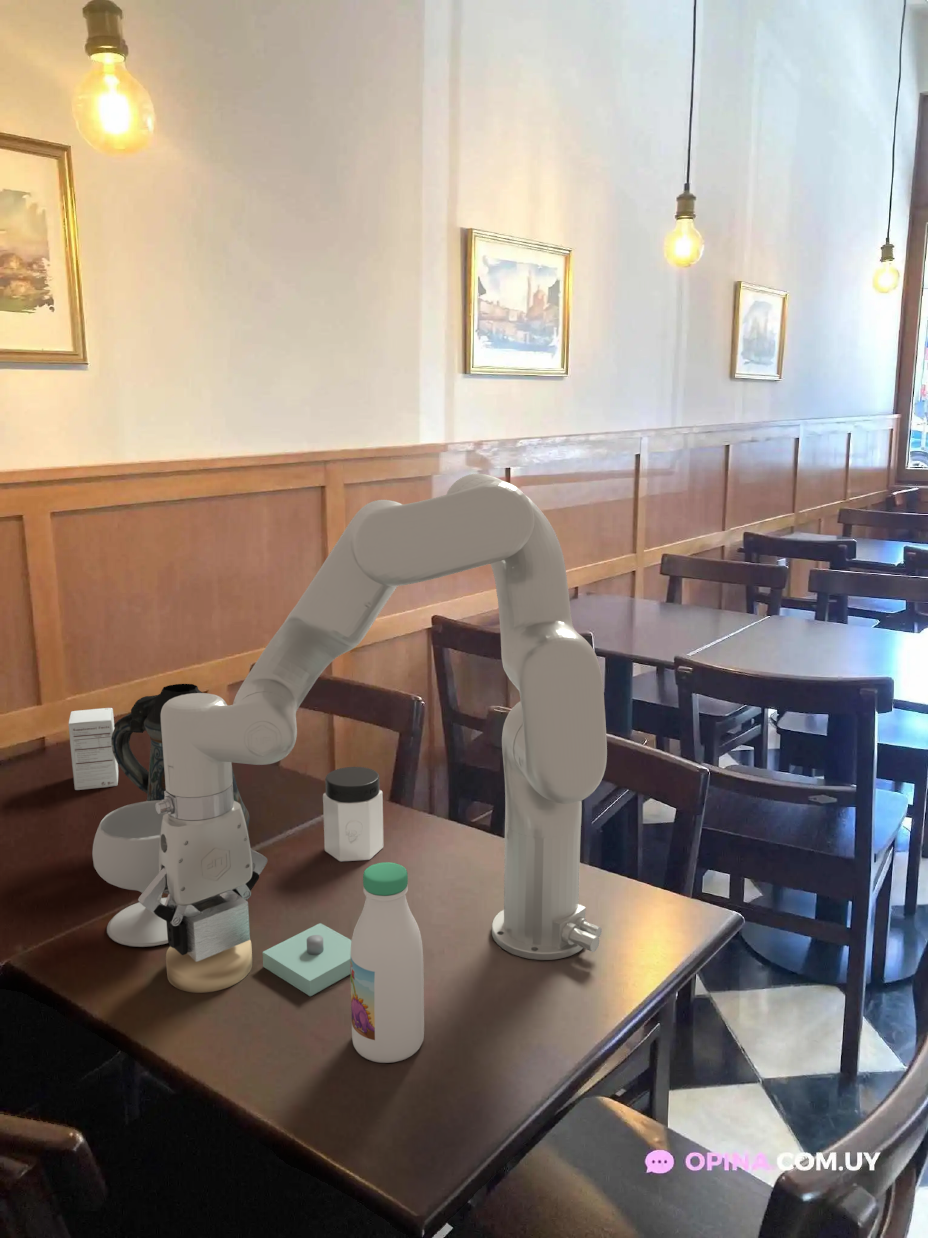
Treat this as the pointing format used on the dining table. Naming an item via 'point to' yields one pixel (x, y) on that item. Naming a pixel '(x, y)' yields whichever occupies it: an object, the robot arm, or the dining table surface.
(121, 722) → the beer stein
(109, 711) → the supplement box
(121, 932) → the chalice
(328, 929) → the stand
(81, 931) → the dining table surface
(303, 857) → the dining table surface
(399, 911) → the milk bottle
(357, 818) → the jar
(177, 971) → the hub
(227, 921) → the collar
